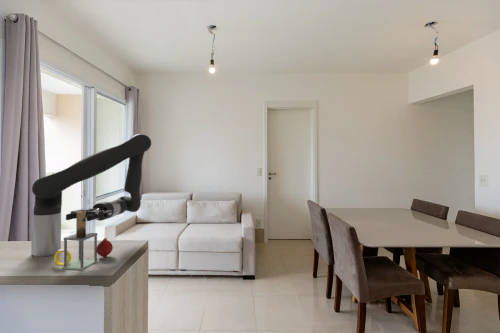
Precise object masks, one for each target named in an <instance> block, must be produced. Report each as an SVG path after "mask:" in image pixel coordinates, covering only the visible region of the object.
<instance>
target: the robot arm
mask: <svg viewBox="0 0 500 333" xmlns="http://www.w3.org/2000/svg"><path fill="white" fill-rule="evenodd" d="M151 146H152V139H151V138H150V137H149V136H148V135H146V134H143V133H136V134H134V135H131V137H130V138H129V139H128V140H127V141H124V142H122V143H120V144H118V145H116V146H112V147H109V148H106V149H102V150H100V151H97V152H94V153H93V154H91V155H88V156H86V157H84V158H82V159H80V160H79V161H76V162H75V163H74V164H72V165H70V166H68V167H67V168H65V169H63V170H60V171H57V172H54V173H52V174H48V175H46V176H42V177H39V178H38V179H36V180H35V181H34V182H33V184H32V186H31V192H32V194H34V207H33V231H32V232H31V234H30V235H31V237H30V239H31V240H30V241H31V243H30V244H31V250H30V251H31V252H30V255H32V256H33V257H35V258H43V257H50V256H54V255H55V253H56V252H58V250H59V249H62V206H63V204H62V203H63V192H64V191H65V190H66V189H68V188H70V187H71V186H73V185H75V184H78V183H81V182H82V181H85V180H88V179H90V178H93V177H95V176H97V175H100V174H103V173H104V172H106V171H109V170H110V169H111V168H113V167H115V166H117V165H119V164H121V163H122V162H124V161H126V160H127V159H128V167H127V172H126V176H125V182H124V183H125V184H124V191H125V192H126V193H128V194H129V195H130V196H127V195H121V196H120V197H118V198H117V199H114V200H106V201H102V202H97V203H95V204H94V205H93V206H92V207H91V208H88V209H87V208H86V209H85V208H80V209H77V210H71V211H70V213H67V214H66V215H65V220H66V221H70V220H73V219H74V220H75V219H76V214H77V212H81V211H86V222H91V221H94V220H97V221H101V222H102V221H104V220H107V219H111V218H114V217H117V216H119V215H121V214H123V213H125V212H126V211H127V212H131V213H136V212H137V211H139V210H140V209H141V204H142V201H141V194H140V187H141V183H142V174H143V173H142V172H143V170H142V168H143V158H144V156H145V152H147V151H149V149H151Z"/></svg>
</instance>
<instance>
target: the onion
mask: <svg viewBox="0 0 500 333" xmlns="http://www.w3.org/2000/svg"><path fill="white" fill-rule="evenodd" d="M113 248H114V246H113V244H112V242H111V241H109V240H108V238H107V237H105V238H103V239H102V240H101V241H99V243H97V255H98V256H100V257H103V258H106V257H107V256H109V255H110V254H111V253H112V251H113V250H114V249H113Z"/></svg>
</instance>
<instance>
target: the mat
mask: <svg viewBox="0 0 500 333" xmlns="http://www.w3.org/2000/svg"><path fill="white" fill-rule="evenodd" d="M98 262H99V260H98V259H97V260H96V261H94V259H88V258H83V268H81V259H80V260H79V258H78V259H76V260H74V261H73V262H69V263H68V264H67V266H66V267H64V265H62V268H61V269H62V270H75V271H76V270H77V271H83V270H85V269H86V268H89V267H90V266H92V265H94V264H96V263H98Z"/></svg>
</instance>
